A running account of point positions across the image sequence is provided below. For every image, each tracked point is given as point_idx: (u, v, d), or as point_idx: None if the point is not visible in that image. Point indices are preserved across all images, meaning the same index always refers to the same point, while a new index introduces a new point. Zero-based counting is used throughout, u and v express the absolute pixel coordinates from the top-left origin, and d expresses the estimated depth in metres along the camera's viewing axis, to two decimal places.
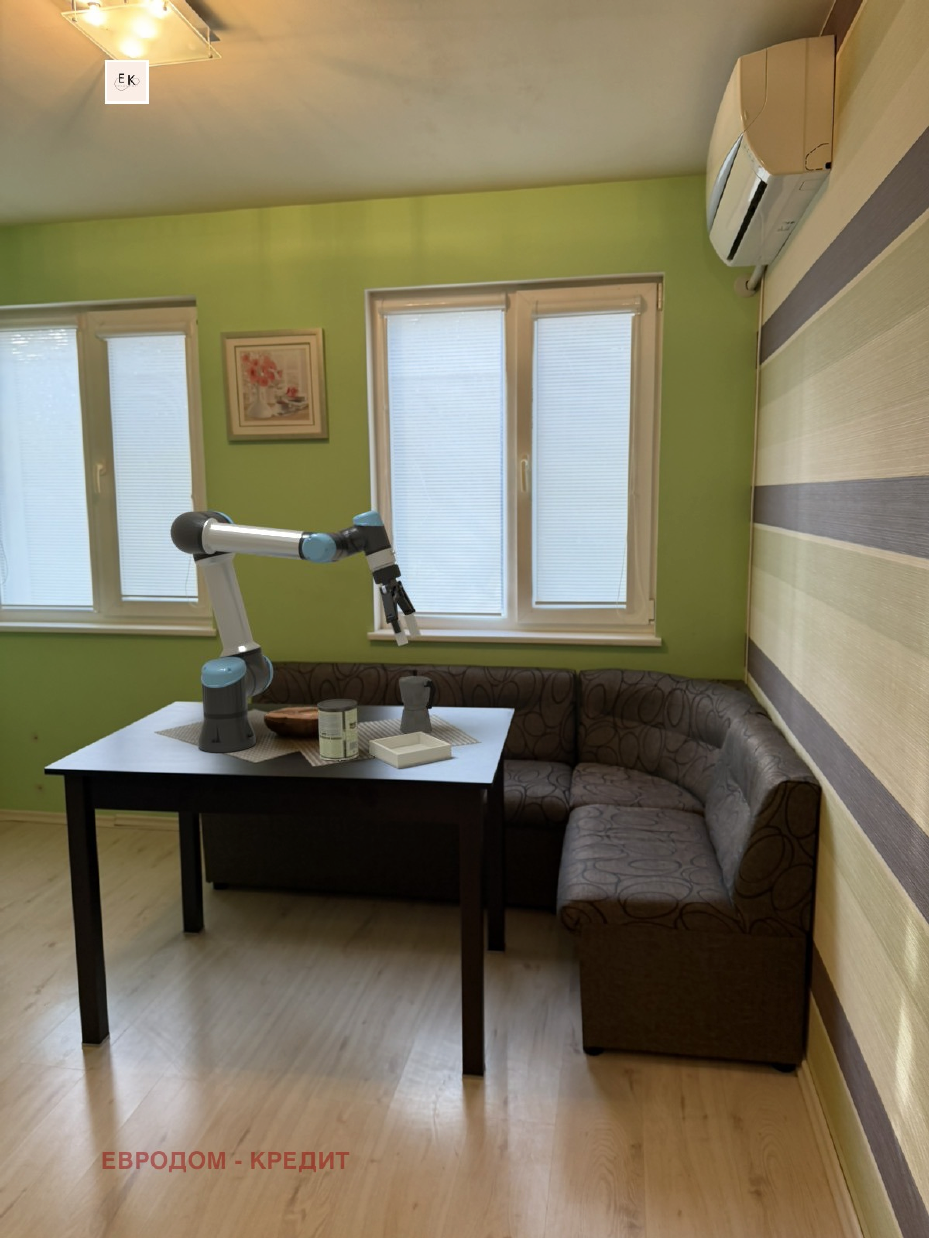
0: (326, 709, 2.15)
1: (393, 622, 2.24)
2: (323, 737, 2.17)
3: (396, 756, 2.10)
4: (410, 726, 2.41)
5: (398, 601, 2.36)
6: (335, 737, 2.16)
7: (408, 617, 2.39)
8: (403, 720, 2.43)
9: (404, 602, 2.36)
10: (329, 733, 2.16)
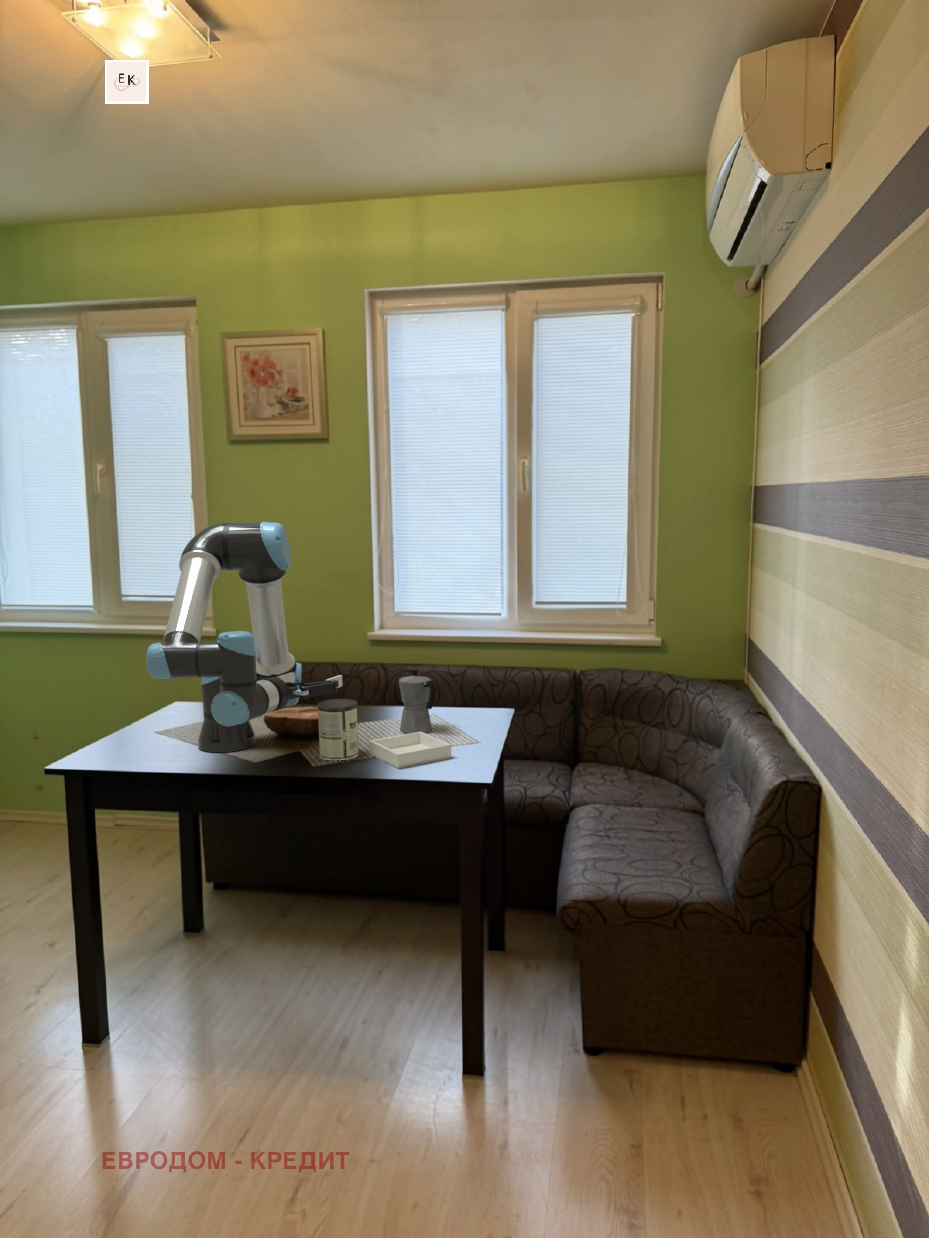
0: (326, 709, 2.15)
1: None
2: (323, 737, 2.17)
3: (396, 756, 2.10)
4: (410, 726, 2.41)
5: None
6: (335, 737, 2.16)
7: None
8: (403, 720, 2.43)
9: None
10: (329, 733, 2.16)
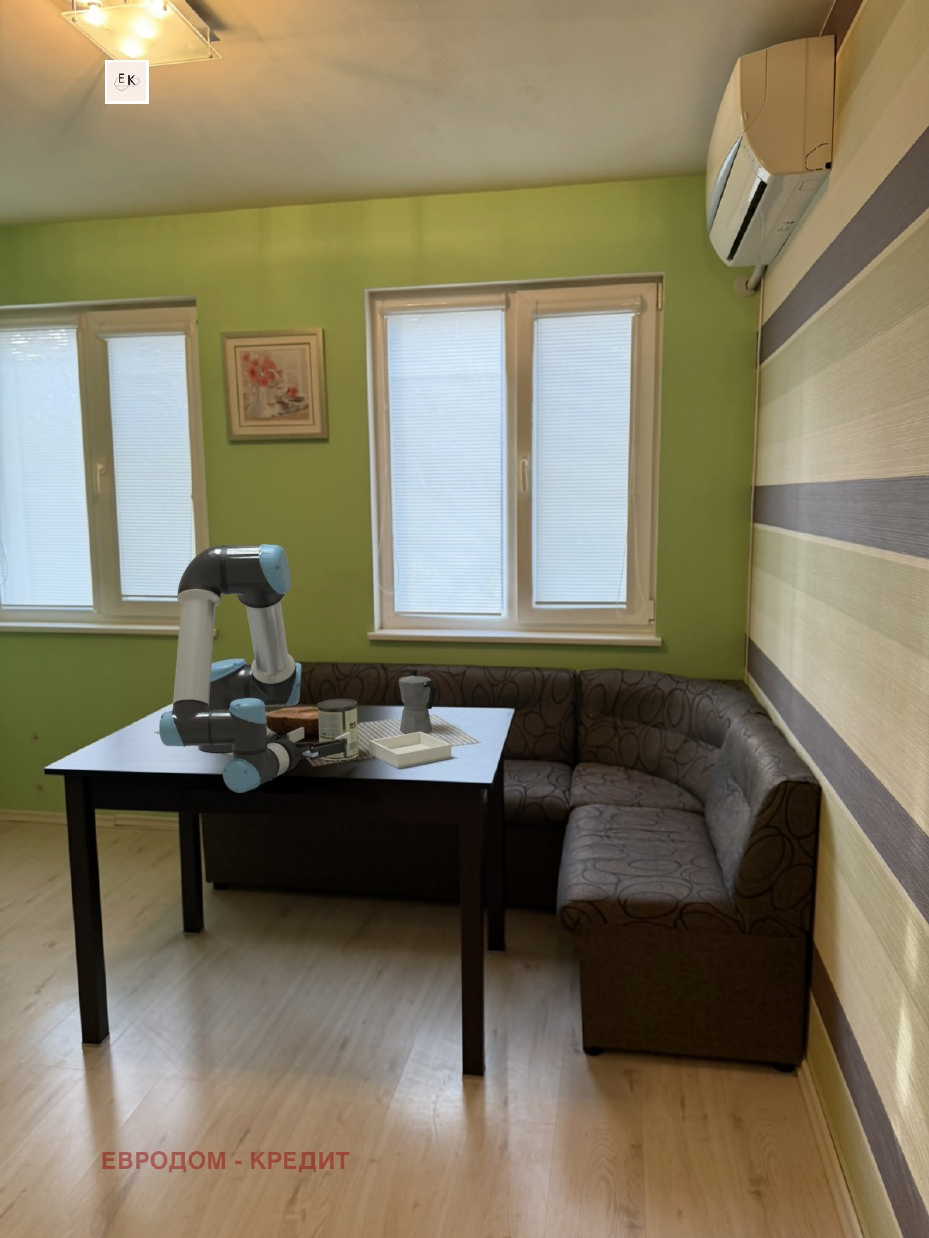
0: (326, 709, 2.15)
1: None
2: (323, 737, 2.17)
3: (396, 756, 2.10)
4: (410, 726, 2.41)
5: None
6: (335, 737, 2.16)
7: None
8: (403, 720, 2.43)
9: None
10: (329, 733, 2.16)
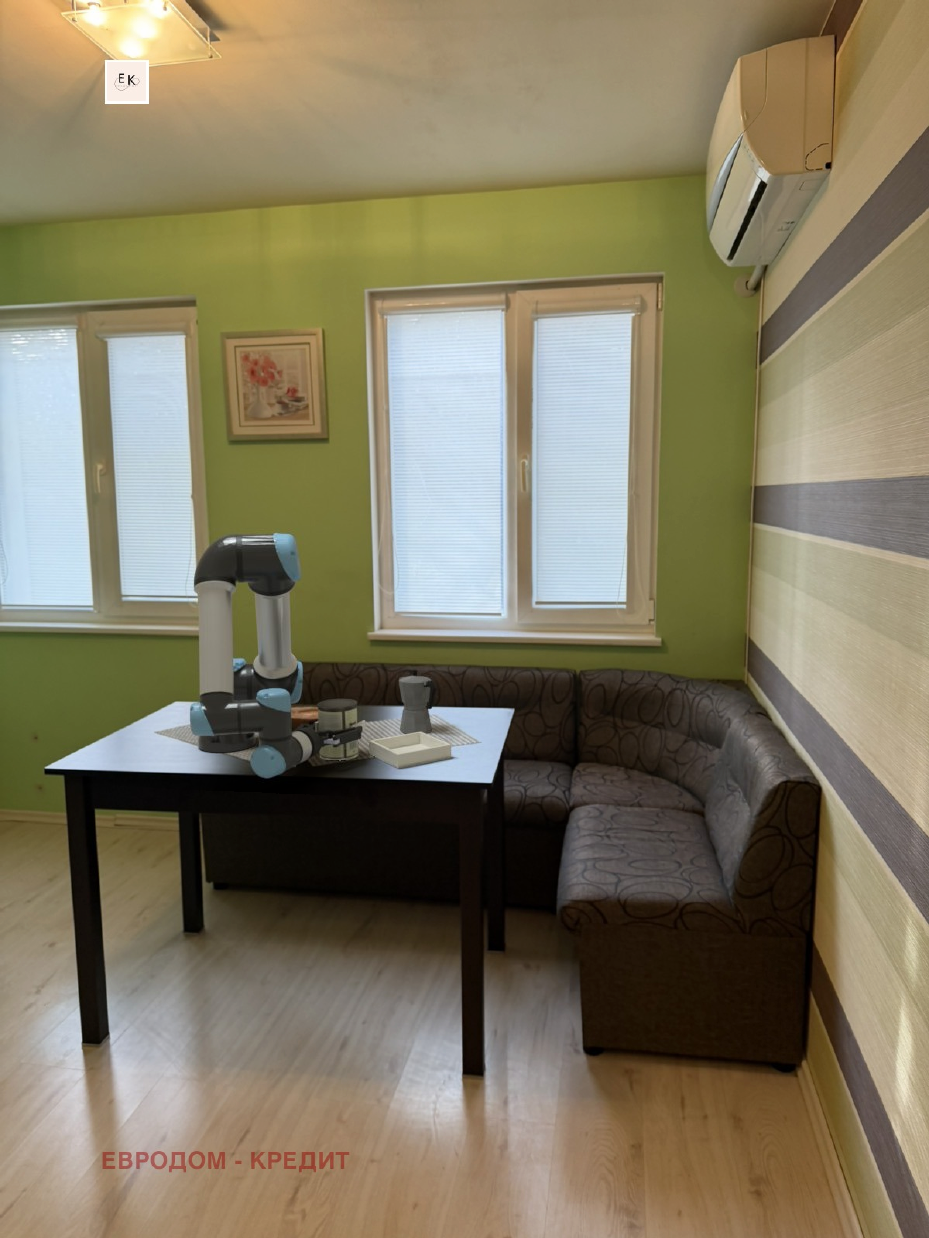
0: (326, 709, 2.15)
1: None
2: None
3: (396, 756, 2.10)
4: (410, 726, 2.41)
5: None
6: None
7: None
8: (403, 720, 2.43)
9: None
10: None
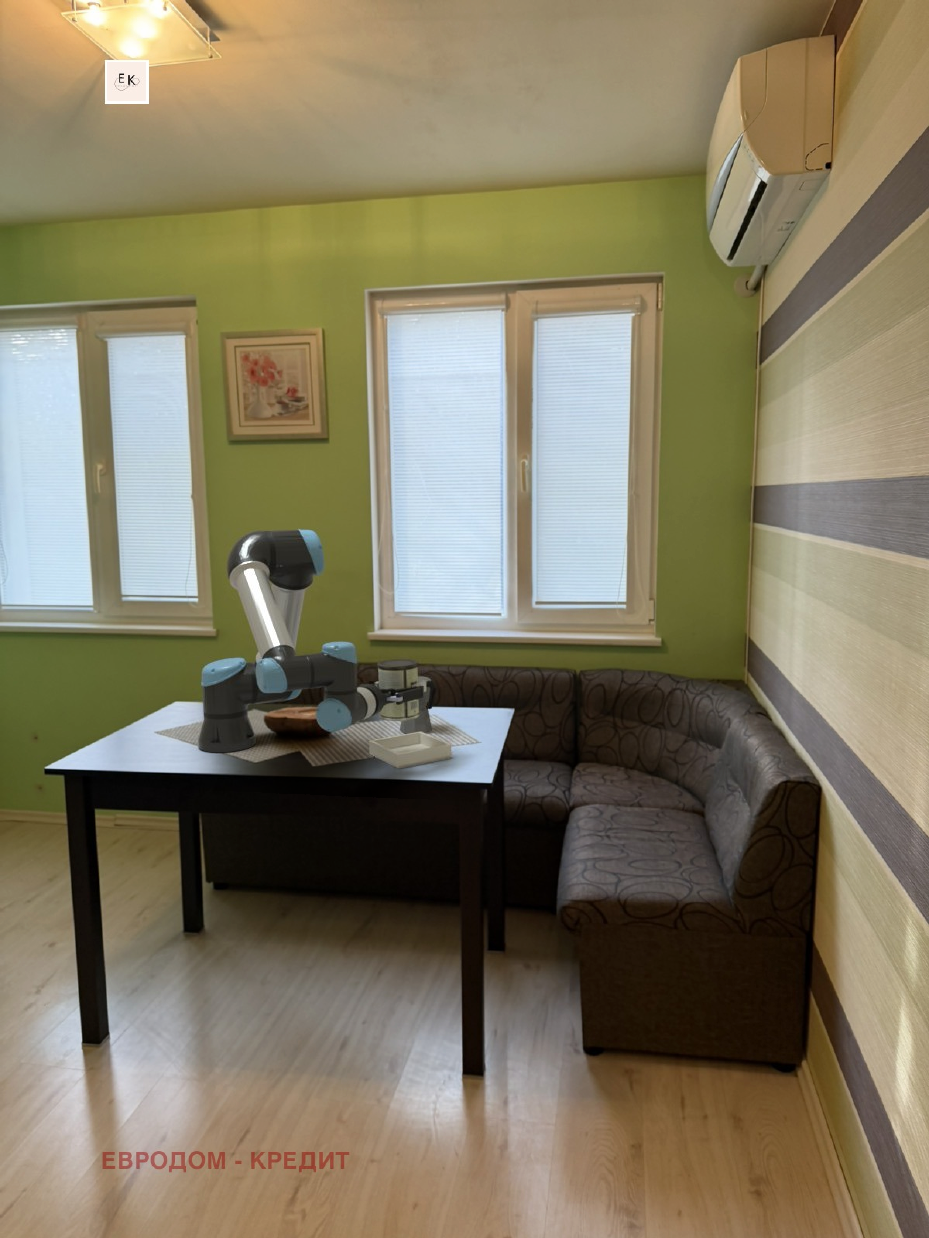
0: (387, 667, 2.12)
1: None
2: None
3: (396, 756, 2.10)
4: (410, 726, 2.41)
5: None
6: None
7: None
8: None
9: None
10: None
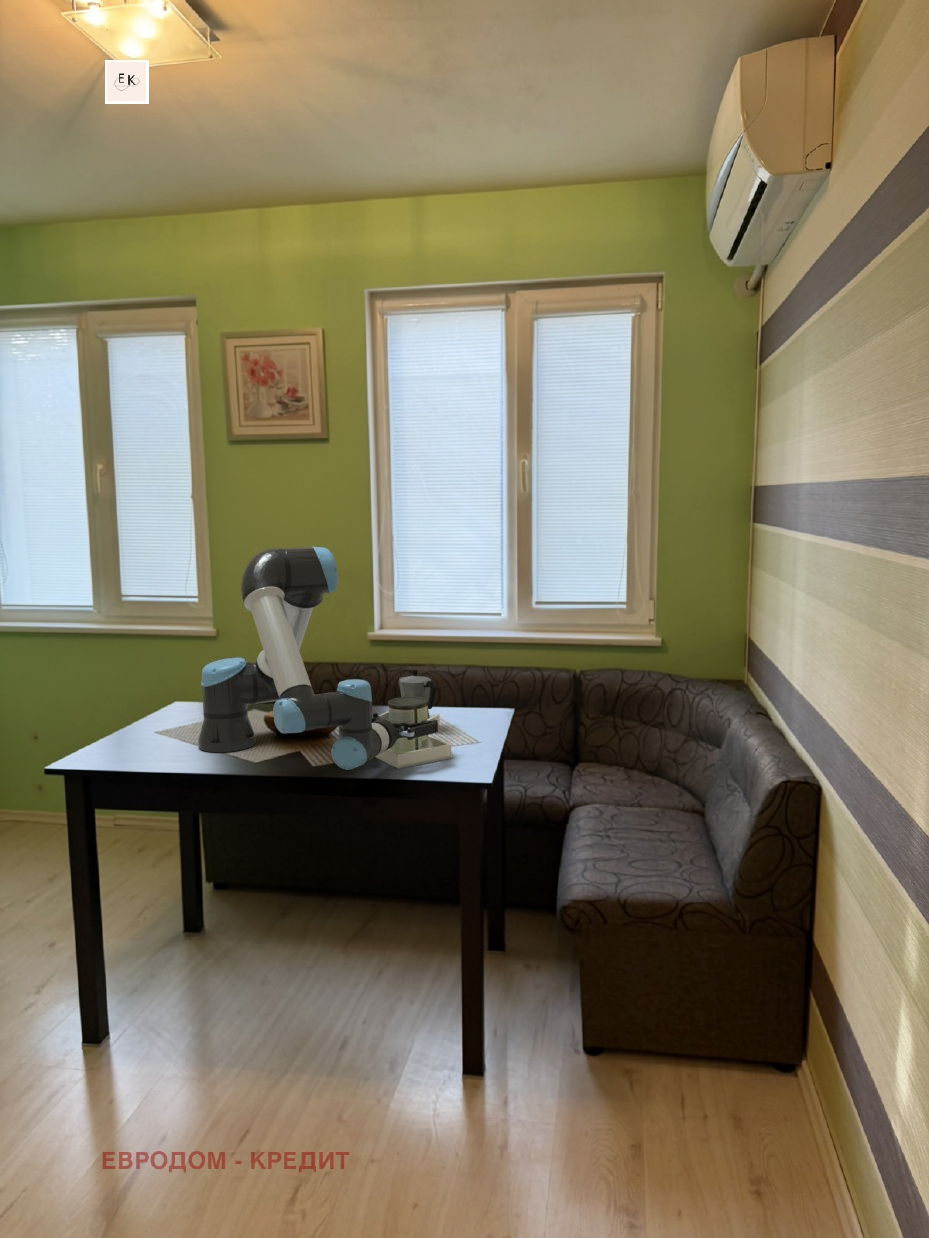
0: (398, 707, 2.14)
1: None
2: None
3: (396, 756, 2.10)
4: None
5: None
6: None
7: None
8: None
9: None
10: None
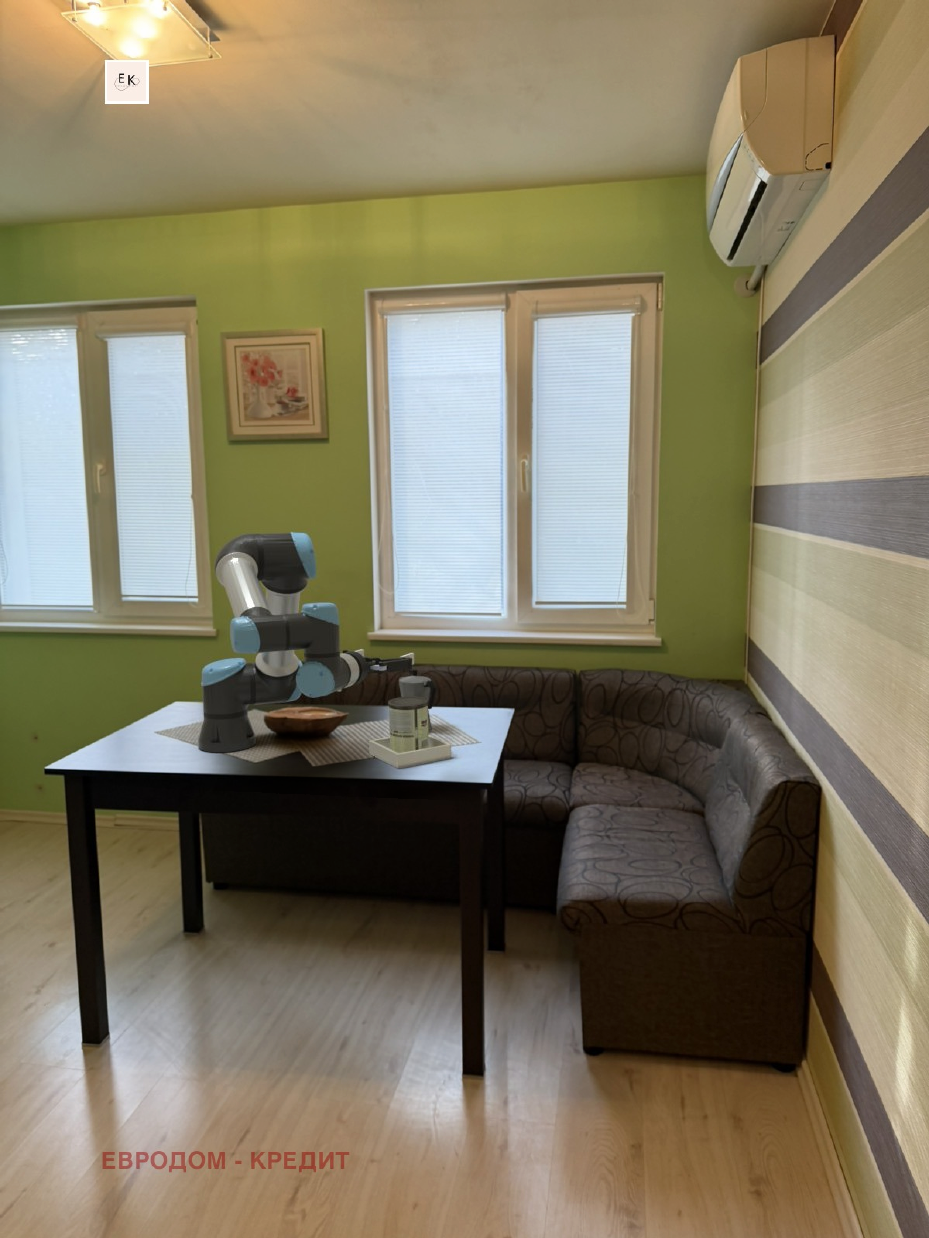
0: (398, 707, 2.14)
1: None
2: (395, 735, 2.16)
3: (396, 756, 2.10)
4: None
5: None
6: (407, 735, 2.15)
7: None
8: None
9: None
10: (401, 731, 2.15)
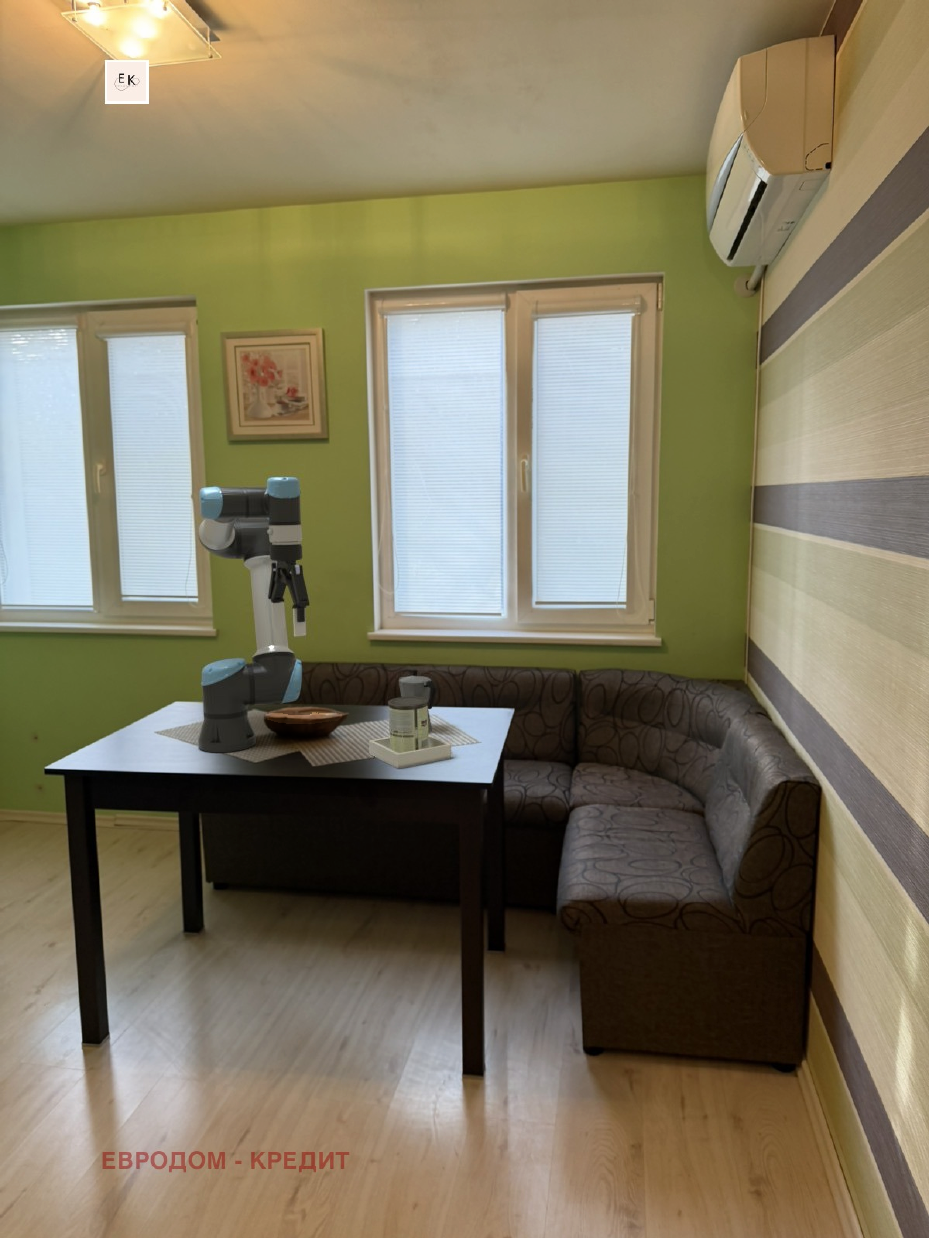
0: (398, 707, 2.14)
1: None
2: (395, 735, 2.16)
3: (396, 756, 2.10)
4: None
5: None
6: (407, 735, 2.15)
7: None
8: None
9: None
10: (401, 731, 2.15)
